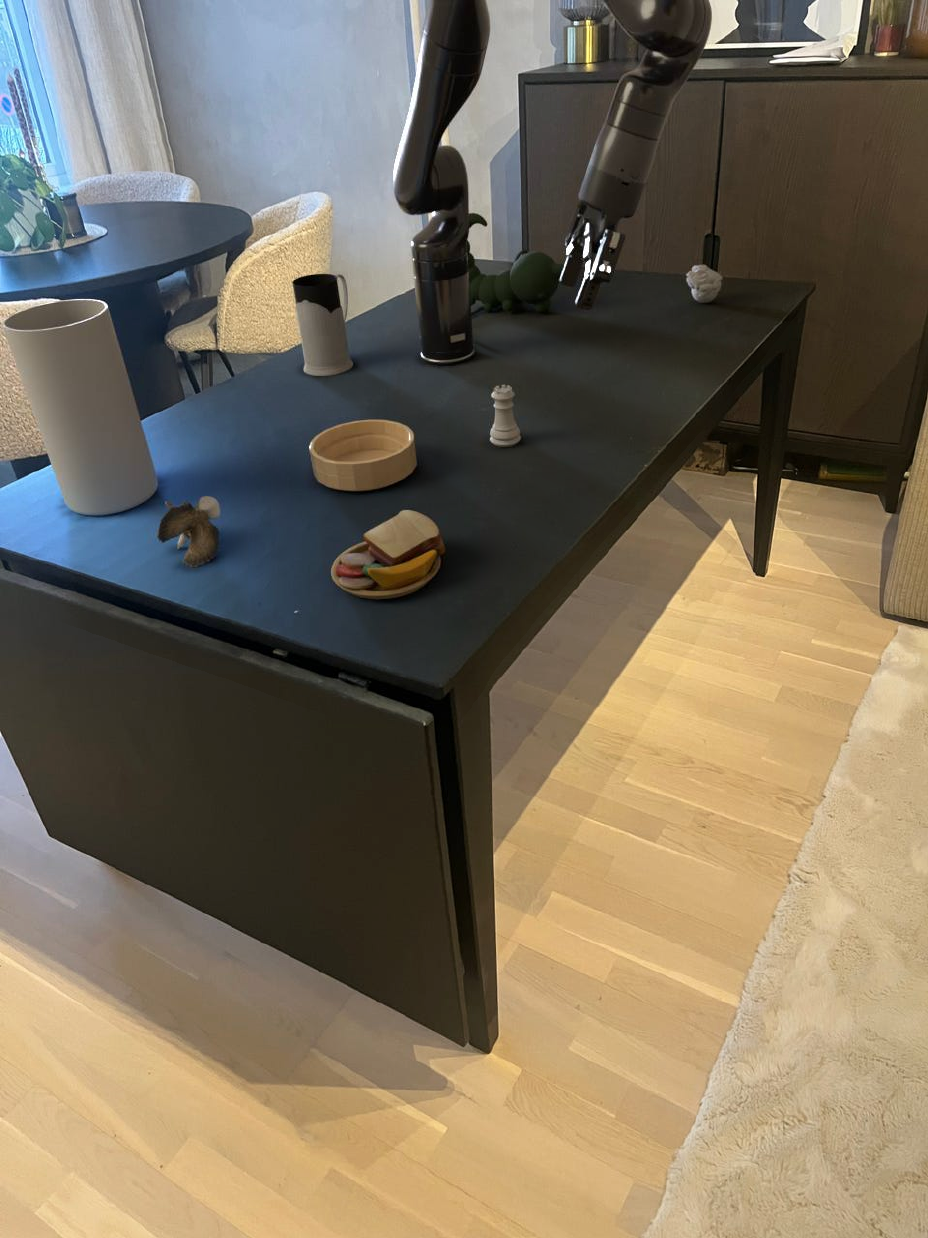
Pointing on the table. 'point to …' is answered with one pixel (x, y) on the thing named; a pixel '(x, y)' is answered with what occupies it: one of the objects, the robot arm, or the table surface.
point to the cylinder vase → (83, 404)
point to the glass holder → (322, 324)
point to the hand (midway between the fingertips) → (574, 296)
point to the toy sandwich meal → (391, 558)
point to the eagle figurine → (193, 529)
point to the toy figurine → (514, 280)
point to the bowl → (363, 455)
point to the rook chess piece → (504, 419)
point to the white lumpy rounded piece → (704, 283)
